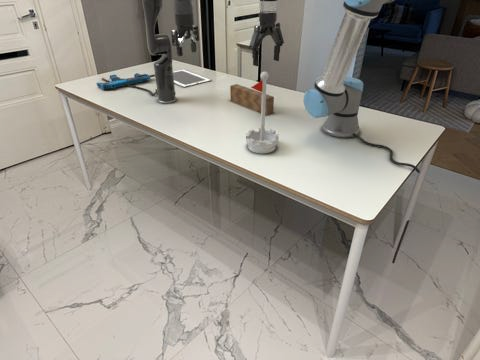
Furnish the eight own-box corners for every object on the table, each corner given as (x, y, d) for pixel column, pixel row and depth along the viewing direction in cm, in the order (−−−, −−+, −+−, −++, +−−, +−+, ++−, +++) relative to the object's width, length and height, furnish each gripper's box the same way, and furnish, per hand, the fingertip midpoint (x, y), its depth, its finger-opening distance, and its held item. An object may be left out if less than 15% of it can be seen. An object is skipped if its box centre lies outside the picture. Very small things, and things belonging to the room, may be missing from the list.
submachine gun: (140, 68, 226) (159, 74, 209) (142, 73, 228) (160, 80, 211) (89, 77, 207) (104, 85, 190) (90, 84, 209) (106, 92, 192)
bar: (273, 112, 168) (274, 96, 163) (266, 115, 165) (267, 98, 161) (236, 98, 184) (236, 83, 180) (230, 100, 182) (230, 85, 177)
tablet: (157, 75, 221) (157, 74, 221) (183, 69, 232) (183, 69, 232) (184, 87, 201) (183, 86, 200) (211, 80, 212) (211, 79, 211)
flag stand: (269, 137, 144) (273, 65, 127) (283, 151, 134) (289, 74, 117) (240, 142, 140) (240, 68, 123) (253, 157, 130) (255, 78, 113)
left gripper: (188, 9, 143) (191, 49, 152) (164, 13, 133) (169, 56, 142) (202, 10, 139) (204, 52, 148) (178, 14, 130) (182, 58, 139)
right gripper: (281, 8, 154) (278, 57, 165) (240, 13, 140) (240, 66, 151) (293, 10, 149) (290, 59, 160) (253, 15, 135) (252, 69, 146)
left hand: (187, 53), depth 145 cm, fingers open, 8 cm apart
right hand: (266, 63), depth 156 cm, fingers open, 13 cm apart
